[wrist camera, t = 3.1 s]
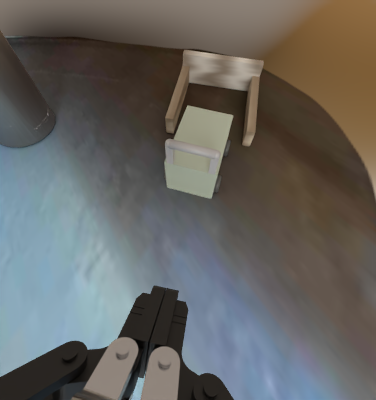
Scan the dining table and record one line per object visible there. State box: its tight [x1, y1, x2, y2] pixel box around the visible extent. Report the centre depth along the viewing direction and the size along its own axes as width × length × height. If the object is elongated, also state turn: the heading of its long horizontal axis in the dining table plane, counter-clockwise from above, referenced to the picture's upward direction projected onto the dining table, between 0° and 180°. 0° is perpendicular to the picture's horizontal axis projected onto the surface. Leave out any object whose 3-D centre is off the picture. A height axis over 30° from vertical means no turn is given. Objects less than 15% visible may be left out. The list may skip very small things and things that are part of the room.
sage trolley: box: [164, 105, 233, 199], centre depth 29 cm, size 8×10×10 cm
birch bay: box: [165, 50, 264, 146], centre depth 37 cm, size 13×14×5 cm
